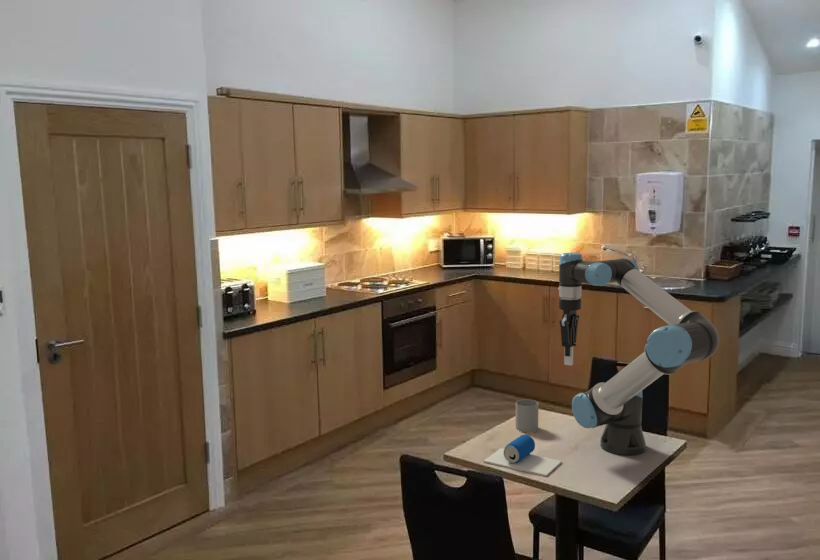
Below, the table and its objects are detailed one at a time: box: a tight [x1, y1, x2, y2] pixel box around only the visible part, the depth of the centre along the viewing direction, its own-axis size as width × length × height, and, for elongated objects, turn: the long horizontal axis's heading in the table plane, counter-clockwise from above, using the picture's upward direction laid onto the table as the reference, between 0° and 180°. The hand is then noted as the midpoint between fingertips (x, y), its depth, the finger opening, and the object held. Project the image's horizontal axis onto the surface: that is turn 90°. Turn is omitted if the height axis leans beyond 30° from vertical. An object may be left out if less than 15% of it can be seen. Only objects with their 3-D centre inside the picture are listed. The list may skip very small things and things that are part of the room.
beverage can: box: [503, 434, 536, 463], centre depth 238 cm, size 6×6×12 cm
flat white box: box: [483, 447, 563, 477], centre depth 236 cm, size 22×13×1 cm, turn 57°
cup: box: [514, 398, 540, 433], centre depth 267 cm, size 8×8×10 cm
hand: (568, 364), depth 249 cm, fingers closed
